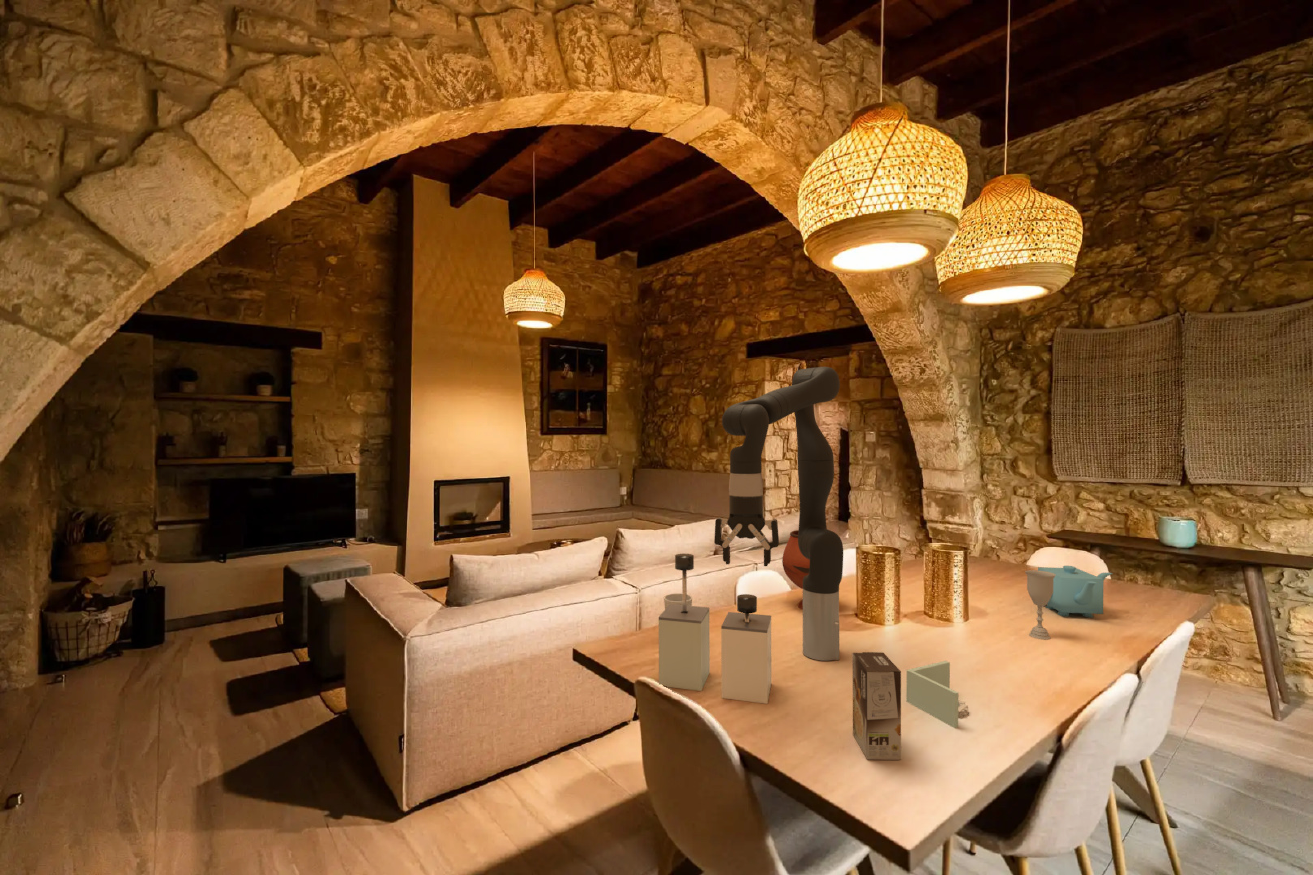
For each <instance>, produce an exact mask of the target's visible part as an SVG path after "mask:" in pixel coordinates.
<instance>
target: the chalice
mask: <svg viewBox="0 0 1313 875" xmlns="http://www.w3.org/2000/svg"><path fill="white" fill-rule="evenodd" d="M1024 573H1025V575H1026V591H1027V593H1028V595H1029V597H1030V598H1031V600H1032V603H1033V605H1035V606H1037V611H1036V614H1037V617H1036V618H1035V619H1036V622H1037V625H1036V626H1032V628H1031V630H1030V633H1029V634H1028V635H1029V637H1032V638H1034V639H1038V640H1043V641H1044V640H1050V639H1051V636H1050V634H1049V632H1048V630H1047V628H1045V627H1044V626H1043V621H1044V618H1043V614H1044V612H1043V607H1046V606H1047V603H1048V601H1049V600H1050V598H1051V596H1052V594H1053V579H1054V577H1055V576H1056V574H1054V573H1051V572H1046V571H1038V569H1037V570H1033V569H1030V570H1029V569H1028V570H1025V571H1024Z"/></svg>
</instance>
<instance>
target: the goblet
mask: <svg viewBox="0 0 1313 875" xmlns="http://www.w3.org/2000/svg"><path fill="white" fill-rule="evenodd" d="M798 530H799V529H798ZM798 530H793V531H791V532H790V533H789V538H788V541H787V543H786V546H785V548H784V551H783V554H782V559H781V561H782V562H781V564H782V567H783V570H784V573H785V574H786V576H787V578H788V579H789V580H790V581H791V582H792V583H793V584H794V585H795V586H797V587H798V588H800V589H802V590H803V578H804V577H805V576H806V575H808V574H809V566H810V560H809V559H807V558H806V557H804V556H803V555H802V553H801V552H800V550H799V546H798ZM797 607H798V608H799V609H800V610H802V611H803V598H802V599H801V600H800V601H799V602H798V605H797Z"/></svg>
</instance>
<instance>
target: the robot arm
mask: <svg viewBox="0 0 1313 875" xmlns="http://www.w3.org/2000/svg"><path fill="white" fill-rule="evenodd" d="M840 384H841V383H840V378H839V374H838V373H837V371H836V370H835V369H833V368H832V367H829V366H818V367H810V368H809V367H808V368H801V369H798V370H796V371H795V373H794V374H793V376H792V380H791V385H788V386H784V387H780V388H777V389H774V390H771V391H769V392H767V393H765V394H762V395H761V396H758V397H757V398H753V399H748V400H744V401H741V402H737V403H735V404H732V405H730V406H729V407H728V408H726V409H725V411H724V412H723V415H722V417H721V425H722V428H723V429H724V431H725V432H726V433H727V434H729V435H731V436H734V437H735V436H737V437H739V436H740V437H742V436H743V437H744V440H743V443H742V445H739V446H735V447H733V448H732V449H731V451H730V453H729V472H730V473H729V482H728V483H729V484H728V499H729V501H728V502H729V504H728V506H729V510H728V511H729V514H728V518H724V517H723V518H722V517H720V516H719V517H717V518H716V519H715V521H714V522H715V524H714V526H715V527H714V538H713V540H714V541H713V542H714V544H715V545H716V546H719V547H720V546H721V548H722V561H723V562H724V563H725V565H730V564H731V546H730V544H731V543H732V541H733V540H734V539H735V537H737V538H739V539H749V540H750V539H751V540H752V539H753V540H754V539H757V541H758V542H759V543H760V544H761V546H762V547H763V548H764V549H763V566H764V567H768V565H769V564H771V561H772V558H771V557H772V549H773V548H778V547H779V544H780V540H779V526H778V524H779V522H778V519H777V518H773V519H765V518H764V481H763V476H762V474H763V472H762V471H763V470H762V455H763V450H764V447H765V441H766V439H767V438H766V437H767V435H768V430H769V426H770V425H772V424H774V423H776V422H778V421H780V420H782V419H784V418H786V417H788V416H789V415H792V414H794V416H795V417H794V418H795V427H796V444H797V446H796V448H797V451H796V452H797V456H796V457H797V479H798V499H799V500H798V501H799V516H798V546H799V550H800V552H801V553H802V555H803V556H804V557H806V558H807V559H809V560H810V566H809V574H808V575H806V576H805V577H804V578H803V589H802V599H803V610H802V653H803V655H804V656H805V657H807V658H809V659H813V660H816V661H822V662H823V661H825V662H826V661H834V660H836V661H839V660H840V583H841V582H842V579H843V569H844V546H843V545H844V544H843V540H842V538H841V537H840V536H839V534H837V533H836V532H835V531H833V530H830V529H829V528H827V518H826V517H827V516H826V508H827V502H828V498H829V497H830V496H829V495H830V493H831V490H832V487H833V483H834V480H835V461H834V460H835V458H834V457H835V456H834V451H833V448H832V446H831V444H830V443H829V442H828V440H827V438H826V437H825V435H824V434H823V432H822V431H821V429H820V427H819V424H818V423H817V420H816V417H815V410H814V406H815V405H817V404H820V403H827V402H830V401H832V400H834V399H835V398H836V397H837V396H838V394H839V393H840V392H839V391H840V387H841V386H840ZM726 524H727V526H728V527H729V528H730V530H731V532H730V533H729V534H728V536H727V537H726V539H725V540H724V539H722V535H723V529H724V528H725V526H726ZM765 526H767V528H768V530H769V531H771V539H772V541H769V540H768V539H767V537H766V535H765V534H764V533H763V528H764V527H765Z"/></svg>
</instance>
